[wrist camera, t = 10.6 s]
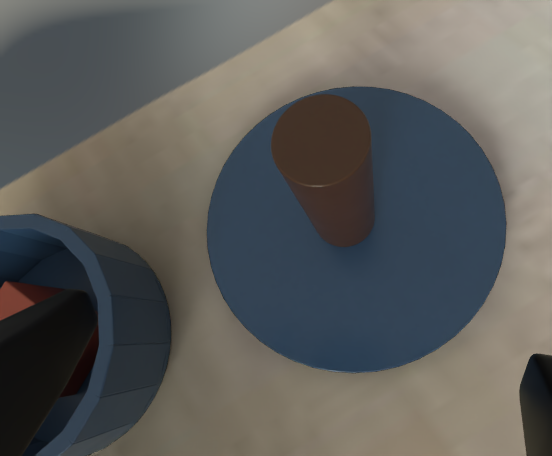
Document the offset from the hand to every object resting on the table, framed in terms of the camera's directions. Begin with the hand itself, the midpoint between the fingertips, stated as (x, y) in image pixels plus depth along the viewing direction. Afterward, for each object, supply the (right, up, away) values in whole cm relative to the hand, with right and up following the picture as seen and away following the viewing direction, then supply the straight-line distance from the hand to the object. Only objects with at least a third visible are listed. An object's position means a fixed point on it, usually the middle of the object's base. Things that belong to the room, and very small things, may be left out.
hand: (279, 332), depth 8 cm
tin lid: (+3, +2, +12) cm, 12 cm away
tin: (-11, -4, +14) cm, 18 cm away
